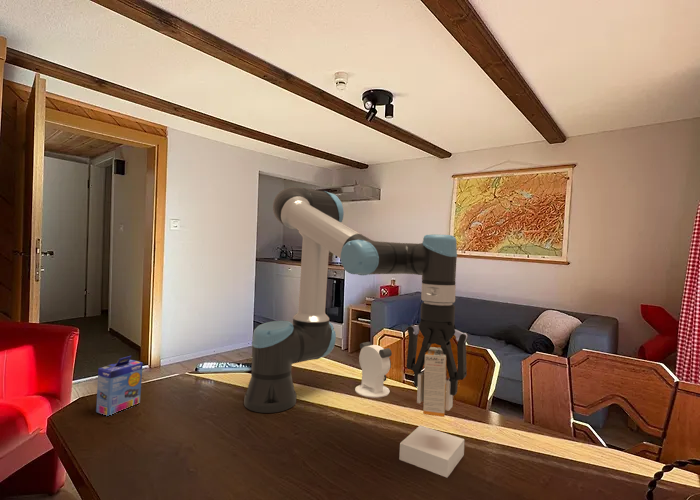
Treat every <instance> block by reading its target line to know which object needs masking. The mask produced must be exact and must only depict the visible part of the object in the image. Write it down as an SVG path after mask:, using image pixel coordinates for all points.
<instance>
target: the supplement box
mask: <svg viewBox="0 0 700 500" xmlns="http://www.w3.org/2000/svg"><path fill="white" fill-rule="evenodd" d="M423 370H424V371H423V372H424V401H423V403H422V404H423V405H422V406H423V408H422V411H423V412H422V413H423V415H428V416H433V417H443V418H444V417H445V413H446V410H445V405H446V380H447V373H448V369H447V365H446V355H445V354H443V350H442V349H441V347H434V346H433V347H432V346H430V348H429V350H427V351H426V352H425V363H424V366H423Z"/></svg>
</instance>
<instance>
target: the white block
mask: <svg viewBox="0 0 700 500" xmlns="http://www.w3.org/2000/svg"><path fill="white" fill-rule="evenodd" d="M464 455H465V439H464V438H463V437H459V436H456V435H453V434H452V435H451V434H449V433H445V432H444V431H443V432H442V431H439V430H437V429H433V428H430V427H427V426H424V425H419V426H418V427H416V429H414V430H413V431H412V432H411V433H410V434H408V436H406V437H405V438H404V439H403V440H402V441H401V442H400V443H399V458H398V459H399V461H402V462H404V463H407V464H410V465H413V466H415V467H418V468H420V469H424V470H426V471H429V472H431V473H433V474H436V475H438V476H439V475H440V477H445V478H447V479H448V477H449V476H450V475H451V474H452V472H453V471H454V469H455V468H456V467H457V465H458V464H459V462H460V461H461V460H462V458H463V457H464Z"/></svg>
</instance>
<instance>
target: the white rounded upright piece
mask: <svg viewBox="0 0 700 500" xmlns="http://www.w3.org/2000/svg"><path fill="white" fill-rule="evenodd" d="M359 348H360V352H359V357H358V360H359V362H358V363H359V366H360V369H361V384H359V385H357V386H356V387H355V388H354V389H355V390H354V391H355V393H356V394H357V395H360V396H363V397H366V398H373V399H374V398H375V399H376V398H384V397H387V396H388V395H389V394H390V393H391V392H390V388H388V387H387V386H385V385H384V382H386V381H387V374H388V373H389V371H390V369H391V368H392V367H391V365H392V361H391V360H392V359H391V356H392V355H393V353H392V350H391V348H389V347H388V348H384V347H382V346H380V345H377V344H372V343H371V341H366V342H360V344H359Z"/></svg>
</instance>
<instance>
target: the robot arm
mask: <svg viewBox="0 0 700 500" xmlns="http://www.w3.org/2000/svg"><path fill="white" fill-rule="evenodd" d="M272 211H273V214H274V217H275V219H277V221H278V222H279V223H281V224H282V225H283V226H284V227H287V228H288V229H291V230H297V231H298V233H299V234H300V235H301V237H302V244H301V245H302V246H301V261H300V277H299V278H300V280H299V296H298V310H297V313H296V314H295V315H293V317H292V318H293V319H292V322H291V321H288V320H278V321H277V320H274V321H273V320H271V321H268V322H265V323H261V324H259V325H257V326H256V328H255V329H254V330H253V334H252V340H251V346H252V347H251V349H252V350H251V351H252V352H251V374H250V375H251V376H250V380H249V383H248V386H247V389H246V392H245V393H244V397H243V398H244V399H243V400H244V401H243V405H244V407H245V408H246V409H247V410H249V411H251V412H255V413H260V414H261V413H263V414H264V413H265V414H268V413H269V414H270V413H271V414H273V413H279V412H283V411H286V410H289V409H291V408H293V407H294V406H295V405H296V404H297V392H296V390H295V387H294V382H293V378H292V367H293V366H292V365H293V364H298V363H302V362H306V361H307V362H308V361H313V360H314V361H315V360H318V359H322V358H324V357H327V356H328V355H329V354H330V353H332V351H333V350H334V348H335V345H336V342H337V341H336V340H337V334H336V330H334V329H335V327H334V325H333V324H332V322H330V317H329V315H327V314H326V301H327V286H328V272H329V270H328V269H329V255H330V254H329V253H331V254H333V255H335V256H336V257H338V258H339V259H340V263H341V265H342V266H343V269H344V271H346V272H347V273H348V274H350V275H359V276H368V275H369V276H370V275H397V274H398V275H402V274H405V275H418V276H421V293H420V294H421V298H420V300H421V301H423V302H422V303H421V304H420V322H419V323H418V324H417V325H415V324H413V325H410V326H408V327H407V333H408V345H407V346H408V347H407V356H406V368H407V370H412V371H413V385H414V387H416V389H417V390H416V391H417V394H416V397H417V398H416V403H417V404H421V403H422V402H424V371H423V370H424V366H425V352H426V351H427V350H429V348H430V347H432V345H434V344H435V345H438V346H440V348H441V349H442V350H443V354H445V355H446V365H447V373H448V376H449V377H448V378H446V398H445V411H448V412H449V411H450V410H451V409H452V408H453V403H454V402H453V397H455V396H456V395H457V393H458V383H459V382H458V381H459V380H460V381H463V380H464V379H465V378H466V377H467V375H468V374H467V371H468V370H467V368H468V367H467V341H468V338H469V333H467V332H462V331H460V330H458V329H457V327H456V324H455V318H456V317H455V315H456V314H455V313H456V306H455V304H454V303H455V302H456V290H457V289H456V286H457V284H456V283H457V282H456V278H457V277H456V275H457V257H458V253H457V252H458V251H457V250H458V249H457V248H458V245H457V238H456V237H455V236H454V235H450V234H425V235H424V236H423V237H422V238H423V240H422V242H420V243H413V242H412V243H410V242H409V243H408V242H389V241H376V240H373V239H371V238H369V237H366V236H365V235H363V234H361V233H360V232H358V231H356V230H354V229H353V228H351V227H350V226H347V225H345V223H342V222H343V220H344V213H345V212H344V205H343V203H342V201H341V199H339V197H338V195H336V194H335V193H333V192H328V191H326V190H318V189H312V188H304V187H300V186H290V187H287V188H284V189H282V190H281V191H280V192H278V193H277V194H276V196H275V197H274V199H273V204H272ZM420 333H421V335H422V336H423V339H422V342H421V348H420V350H419V353H418V355H417V349H418V338H419V337H418V336H419V334H420ZM453 337H455V340H456V342H457V344H456V347H457V348H456V349H457V354H456V355H457V365H456V361H455V358H454V353H453V349H452V343H451V339H452V338H453Z"/></svg>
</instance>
